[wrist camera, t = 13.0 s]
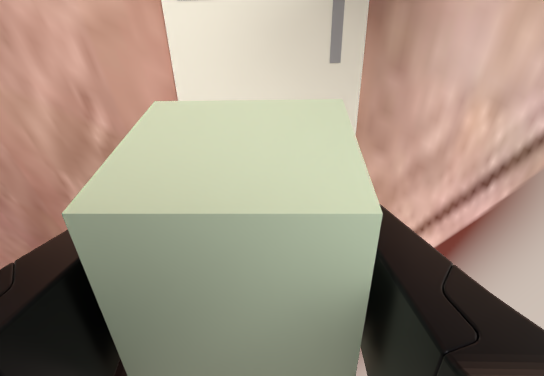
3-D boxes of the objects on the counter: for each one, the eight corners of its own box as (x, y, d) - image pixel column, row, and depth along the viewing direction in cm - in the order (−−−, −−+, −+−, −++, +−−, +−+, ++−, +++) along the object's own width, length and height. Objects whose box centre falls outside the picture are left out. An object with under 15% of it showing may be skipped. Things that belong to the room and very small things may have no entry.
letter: (350, 178, 21) (351, 181, 21) (192, 179, 22) (191, 181, 22) (376, -83, 15) (378, -83, 15) (150, -75, 15) (148, -75, 15)
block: (330, 243, 11) (352, 392, 8) (183, 243, 12) (132, 388, 8) (342, 99, 9) (383, 213, 5) (154, 101, 9) (61, 213, 5)
